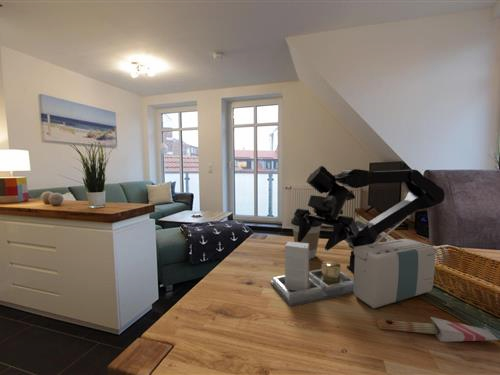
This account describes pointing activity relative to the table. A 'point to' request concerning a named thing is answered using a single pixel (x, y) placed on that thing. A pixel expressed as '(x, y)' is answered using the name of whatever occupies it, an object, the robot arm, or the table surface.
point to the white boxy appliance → (393, 270)
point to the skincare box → (296, 266)
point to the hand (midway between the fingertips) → (311, 245)
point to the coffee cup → (308, 236)
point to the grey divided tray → (317, 285)
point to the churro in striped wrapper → (440, 329)
